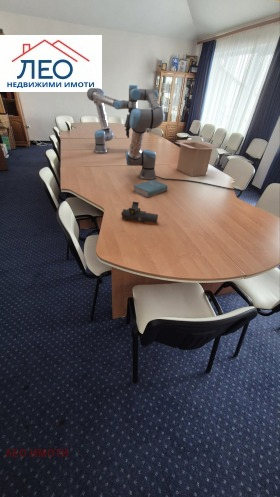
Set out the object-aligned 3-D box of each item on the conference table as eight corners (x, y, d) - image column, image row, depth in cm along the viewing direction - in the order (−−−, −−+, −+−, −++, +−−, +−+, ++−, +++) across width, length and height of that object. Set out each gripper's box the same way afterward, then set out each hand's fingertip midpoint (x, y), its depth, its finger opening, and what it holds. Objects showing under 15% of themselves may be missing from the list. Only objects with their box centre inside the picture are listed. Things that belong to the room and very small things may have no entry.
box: (218, 176, 220) (226, 147, 203) (190, 180, 205) (196, 149, 189) (191, 164, 250) (196, 138, 234) (165, 167, 235) (168, 139, 219)
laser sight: (155, 227, 133) (157, 212, 127) (119, 221, 136) (119, 206, 130) (157, 219, 141) (159, 205, 135) (123, 214, 144) (124, 200, 138)
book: (152, 185, 190) (153, 179, 187) (167, 191, 181) (167, 185, 178) (133, 191, 176) (133, 185, 173) (147, 198, 167) (148, 191, 164)
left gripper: (139, 115, 251) (138, 135, 264) (122, 115, 237) (122, 137, 250) (143, 116, 247) (142, 137, 259) (126, 116, 233) (126, 138, 245)
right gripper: (137, 106, 199) (135, 132, 212) (120, 107, 182) (120, 135, 194) (144, 107, 196) (142, 133, 209) (128, 108, 179) (127, 137, 191)
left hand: (132, 137), depth 255 cm, fingers open, 13 cm apart
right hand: (131, 134), depth 202 cm, fingers open, 13 cm apart
